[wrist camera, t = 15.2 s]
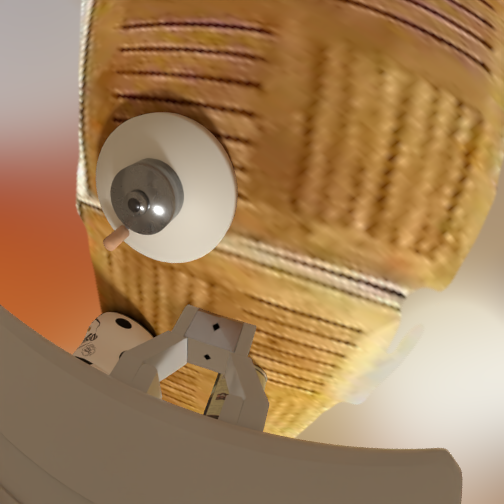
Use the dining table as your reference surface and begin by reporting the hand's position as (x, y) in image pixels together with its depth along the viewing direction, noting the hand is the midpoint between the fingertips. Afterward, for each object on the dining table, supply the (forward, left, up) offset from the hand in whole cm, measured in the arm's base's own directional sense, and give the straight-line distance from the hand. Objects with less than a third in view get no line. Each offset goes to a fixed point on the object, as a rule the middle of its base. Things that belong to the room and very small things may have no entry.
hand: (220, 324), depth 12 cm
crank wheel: (+6, -16, -25) cm, 30 cm away
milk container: (+42, -25, -25) cm, 55 cm away
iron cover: (+6, -16, -22) cm, 28 cm away
